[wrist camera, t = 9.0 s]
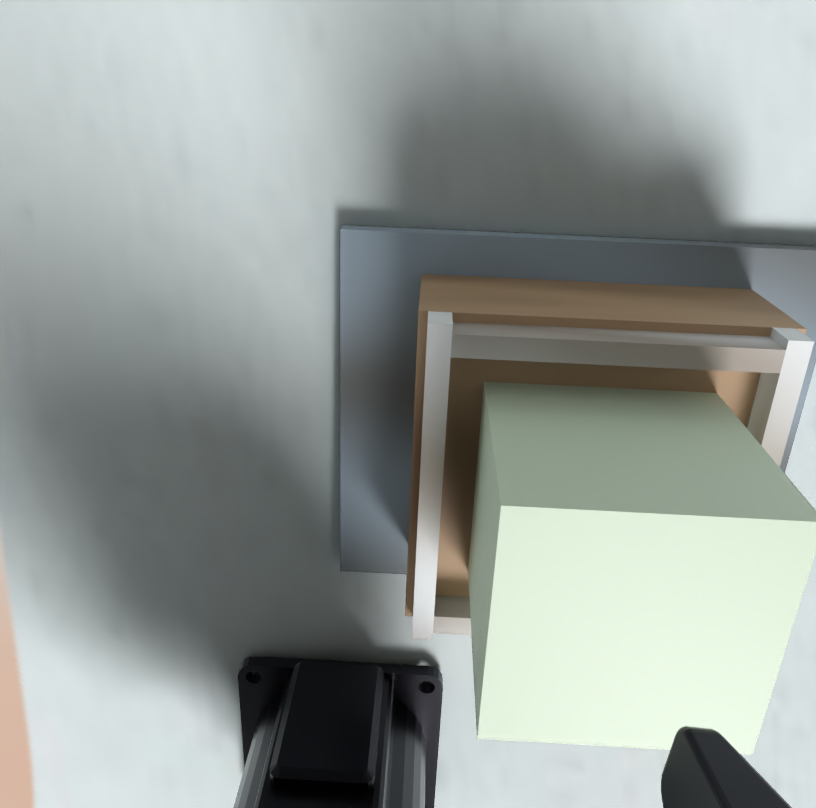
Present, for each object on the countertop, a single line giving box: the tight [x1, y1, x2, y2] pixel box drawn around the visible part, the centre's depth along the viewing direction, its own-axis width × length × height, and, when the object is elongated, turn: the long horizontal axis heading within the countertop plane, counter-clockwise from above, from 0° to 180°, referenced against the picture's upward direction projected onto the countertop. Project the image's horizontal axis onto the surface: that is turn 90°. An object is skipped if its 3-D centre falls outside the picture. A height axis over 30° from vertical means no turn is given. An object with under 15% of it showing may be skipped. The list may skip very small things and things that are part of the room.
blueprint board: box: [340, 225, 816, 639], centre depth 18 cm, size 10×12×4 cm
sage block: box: [468, 382, 816, 755], centre depth 15 cm, size 5×5×5 cm
